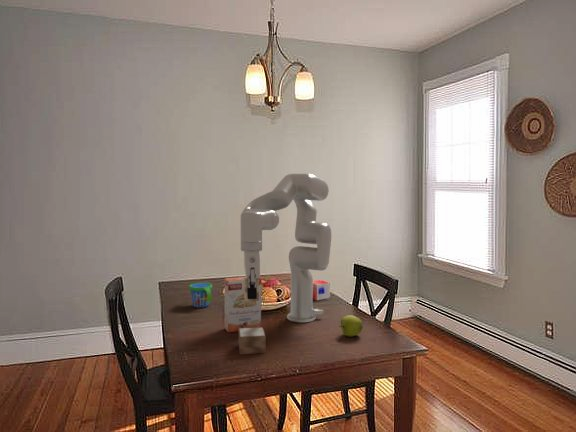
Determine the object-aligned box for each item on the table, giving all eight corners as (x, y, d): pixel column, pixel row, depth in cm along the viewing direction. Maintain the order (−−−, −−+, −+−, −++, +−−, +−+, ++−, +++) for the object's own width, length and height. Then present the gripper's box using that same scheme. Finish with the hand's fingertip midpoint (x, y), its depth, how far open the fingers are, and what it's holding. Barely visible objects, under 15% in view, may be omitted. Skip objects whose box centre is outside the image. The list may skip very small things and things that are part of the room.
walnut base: (263, 343, 170) (263, 327, 169) (265, 352, 161) (265, 335, 160) (238, 344, 168) (238, 328, 168) (239, 354, 160) (239, 336, 159)
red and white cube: (320, 294, 240) (320, 279, 239) (329, 298, 233) (329, 282, 233) (307, 296, 236) (308, 281, 235) (316, 300, 229) (316, 284, 229)
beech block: (257, 296, 166) (257, 277, 165) (259, 300, 161) (259, 281, 160) (244, 297, 165) (243, 278, 165) (244, 301, 160) (244, 281, 160)
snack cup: (184, 303, 221) (183, 283, 220) (204, 300, 227) (204, 280, 226) (197, 311, 208) (197, 290, 208) (218, 308, 214) (218, 286, 214)
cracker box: (228, 333, 181) (227, 281, 179) (224, 328, 186) (223, 277, 184) (261, 328, 186) (261, 278, 184) (256, 324, 192) (256, 275, 190)
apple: (335, 334, 180) (335, 314, 180) (355, 331, 184) (355, 311, 183) (345, 340, 173) (345, 320, 172) (365, 337, 177) (366, 317, 176)
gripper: (264, 249, 154) (264, 303, 155) (259, 242, 170) (259, 290, 172) (241, 250, 153) (242, 303, 154) (239, 242, 169) (239, 291, 171)
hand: (251, 296), depth 163 cm, fingers closed on beech block, 5 cm apart
